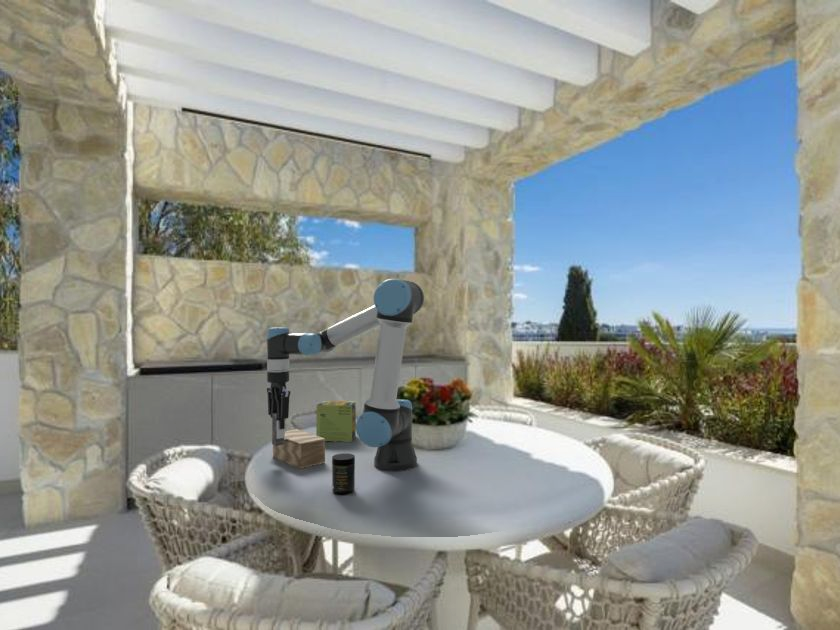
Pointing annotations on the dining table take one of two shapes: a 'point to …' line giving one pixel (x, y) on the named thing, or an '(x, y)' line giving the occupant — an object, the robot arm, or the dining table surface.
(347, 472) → the supplement container
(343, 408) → the protein box
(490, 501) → the dining table surface
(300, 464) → the wooden box
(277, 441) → the wooden stand with strip
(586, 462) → the dining table surface
